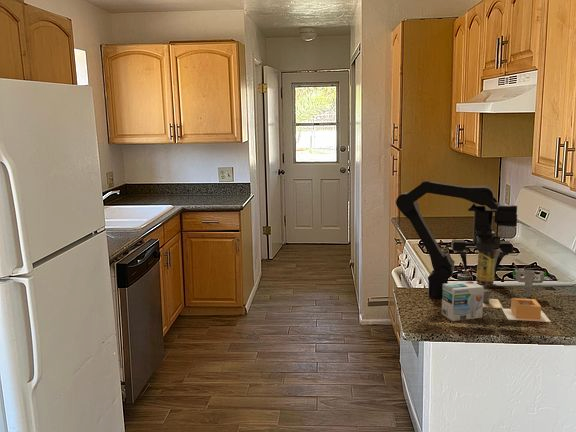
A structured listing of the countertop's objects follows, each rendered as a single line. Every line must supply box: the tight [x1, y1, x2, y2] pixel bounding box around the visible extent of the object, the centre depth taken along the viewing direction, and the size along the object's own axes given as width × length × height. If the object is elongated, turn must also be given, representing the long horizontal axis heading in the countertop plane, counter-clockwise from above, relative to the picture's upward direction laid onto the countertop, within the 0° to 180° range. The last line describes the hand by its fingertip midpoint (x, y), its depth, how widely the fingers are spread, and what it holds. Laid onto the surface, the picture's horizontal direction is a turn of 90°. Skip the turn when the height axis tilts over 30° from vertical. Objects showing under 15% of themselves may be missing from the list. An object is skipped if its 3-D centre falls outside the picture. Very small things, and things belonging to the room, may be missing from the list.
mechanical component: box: [512, 268, 547, 298], centre depth 186 cm, size 3×10×10 cm, turn 78°
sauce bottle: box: [476, 230, 496, 286], centre depth 204 cm, size 6×6×20 cm
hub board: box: [501, 303, 552, 323], centre depth 169 cm, size 12×10×4 cm
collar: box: [510, 297, 542, 319], centre depth 169 cm, size 7×7×4 cm
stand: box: [483, 289, 504, 309], centre depth 180 cm, size 9×9×5 cm
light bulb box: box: [440, 280, 485, 324], centre depth 168 cm, size 11×7×11 cm, turn 106°
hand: (480, 271), depth 181 cm, fingers open, 9 cm apart
